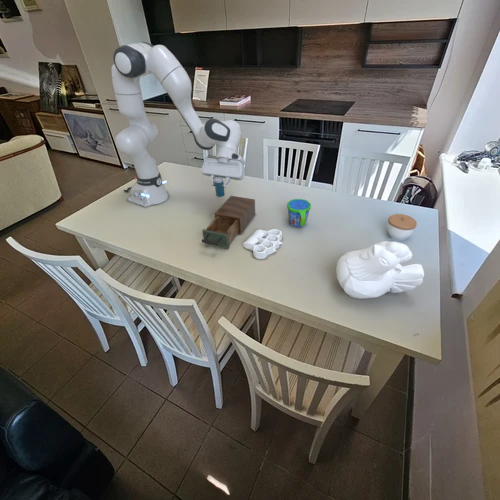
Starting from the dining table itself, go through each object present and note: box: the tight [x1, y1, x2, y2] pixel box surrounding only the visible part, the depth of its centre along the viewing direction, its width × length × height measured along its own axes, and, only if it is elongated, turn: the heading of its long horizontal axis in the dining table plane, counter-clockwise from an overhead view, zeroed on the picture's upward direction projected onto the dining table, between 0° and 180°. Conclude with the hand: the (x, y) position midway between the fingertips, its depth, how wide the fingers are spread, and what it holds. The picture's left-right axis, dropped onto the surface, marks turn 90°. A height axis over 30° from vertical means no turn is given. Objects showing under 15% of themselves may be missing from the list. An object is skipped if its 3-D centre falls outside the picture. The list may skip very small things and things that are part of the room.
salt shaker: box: [214, 177, 226, 198], centre depth 126 cm, size 4×4×8 cm
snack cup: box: [286, 198, 312, 228], centre depth 128 cm, size 16×10×10 cm
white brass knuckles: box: [242, 228, 284, 260], centre depth 118 cm, size 3×18×15 cm
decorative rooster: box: [335, 240, 425, 300], centre depth 88 cm, size 25×16×25 cm
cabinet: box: [214, 195, 256, 235], centre depth 132 cm, size 18×13×9 cm
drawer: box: [201, 216, 239, 250], centre depth 121 cm, size 21×11×7 cm, turn 158°
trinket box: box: [386, 213, 418, 241], centre depth 117 cm, size 11×11×9 cm
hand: (218, 186), depth 125 cm, fingers closed on salt shaker, 4 cm apart
